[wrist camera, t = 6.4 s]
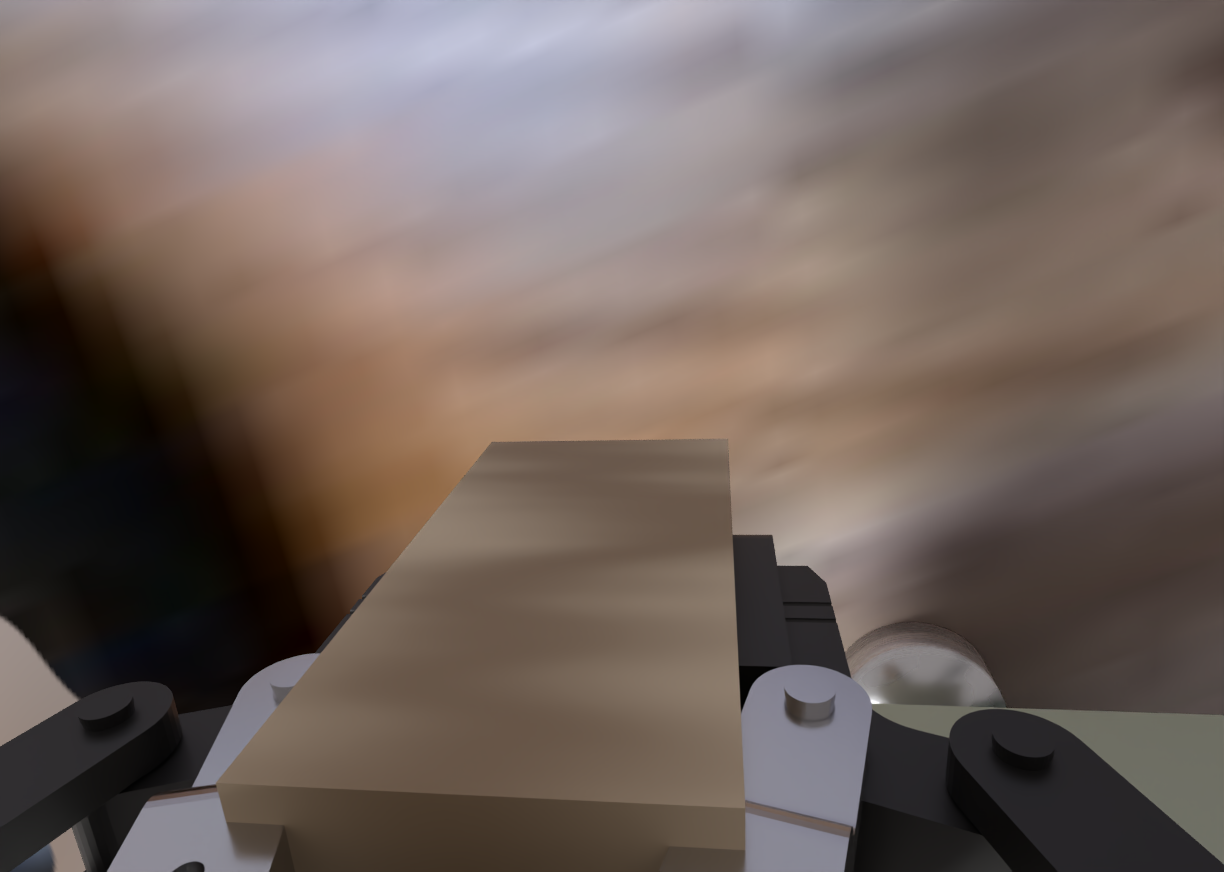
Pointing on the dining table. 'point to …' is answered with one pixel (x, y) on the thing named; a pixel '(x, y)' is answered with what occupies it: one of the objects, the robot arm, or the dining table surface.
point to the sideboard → (1130, 755)
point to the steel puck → (921, 668)
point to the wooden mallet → (525, 679)
